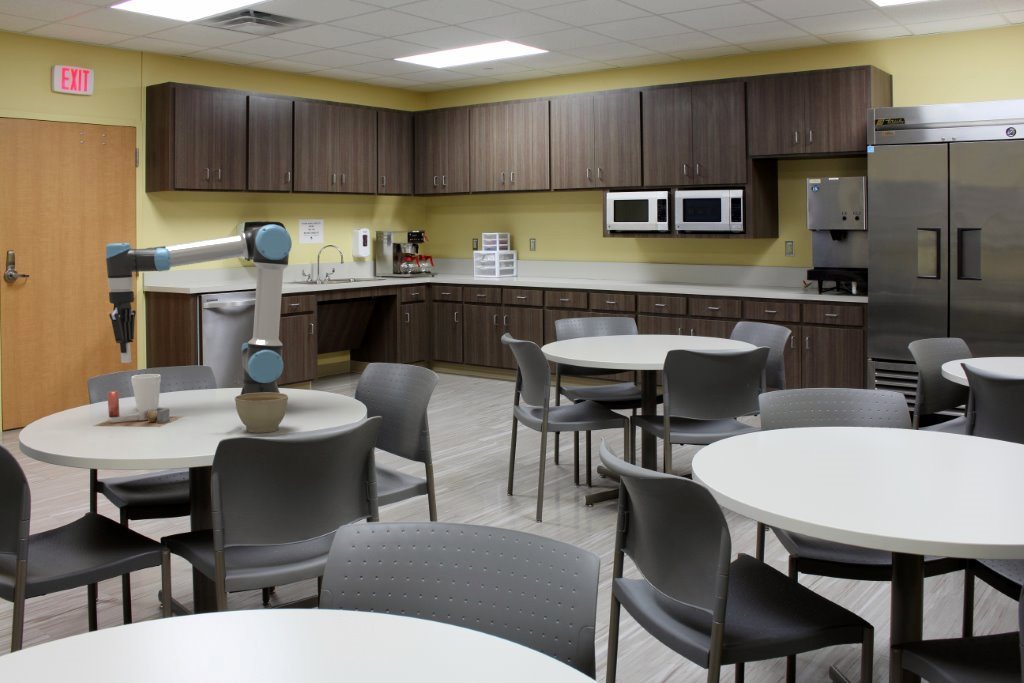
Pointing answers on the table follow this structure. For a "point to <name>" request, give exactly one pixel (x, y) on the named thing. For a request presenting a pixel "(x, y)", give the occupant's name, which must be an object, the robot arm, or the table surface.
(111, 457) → the table surface
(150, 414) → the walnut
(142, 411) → the lever
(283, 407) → the planter bowl
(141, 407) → the foam cup
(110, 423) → the board
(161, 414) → the two-tone textured tile
